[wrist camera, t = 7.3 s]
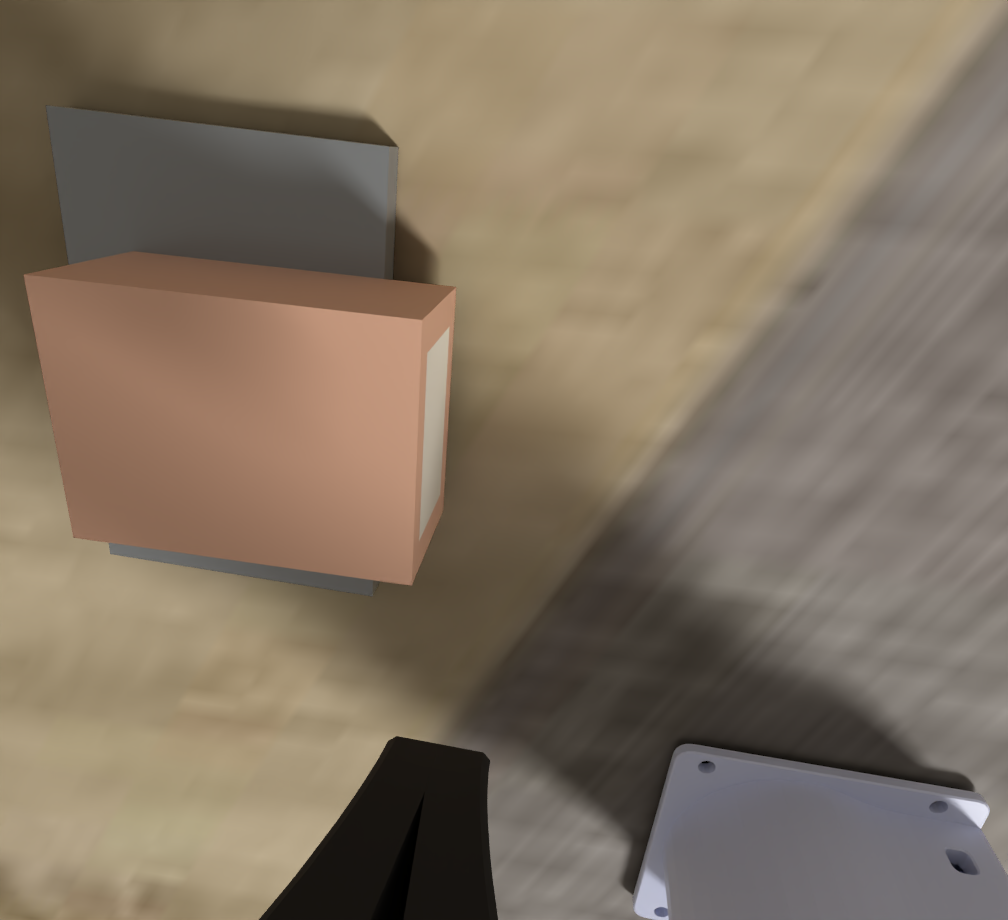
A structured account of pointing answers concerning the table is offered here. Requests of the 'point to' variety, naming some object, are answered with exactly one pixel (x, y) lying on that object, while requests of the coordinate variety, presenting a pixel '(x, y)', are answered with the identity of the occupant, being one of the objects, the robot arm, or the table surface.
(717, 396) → the table surface
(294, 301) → the block
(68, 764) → the table surface
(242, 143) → the board
